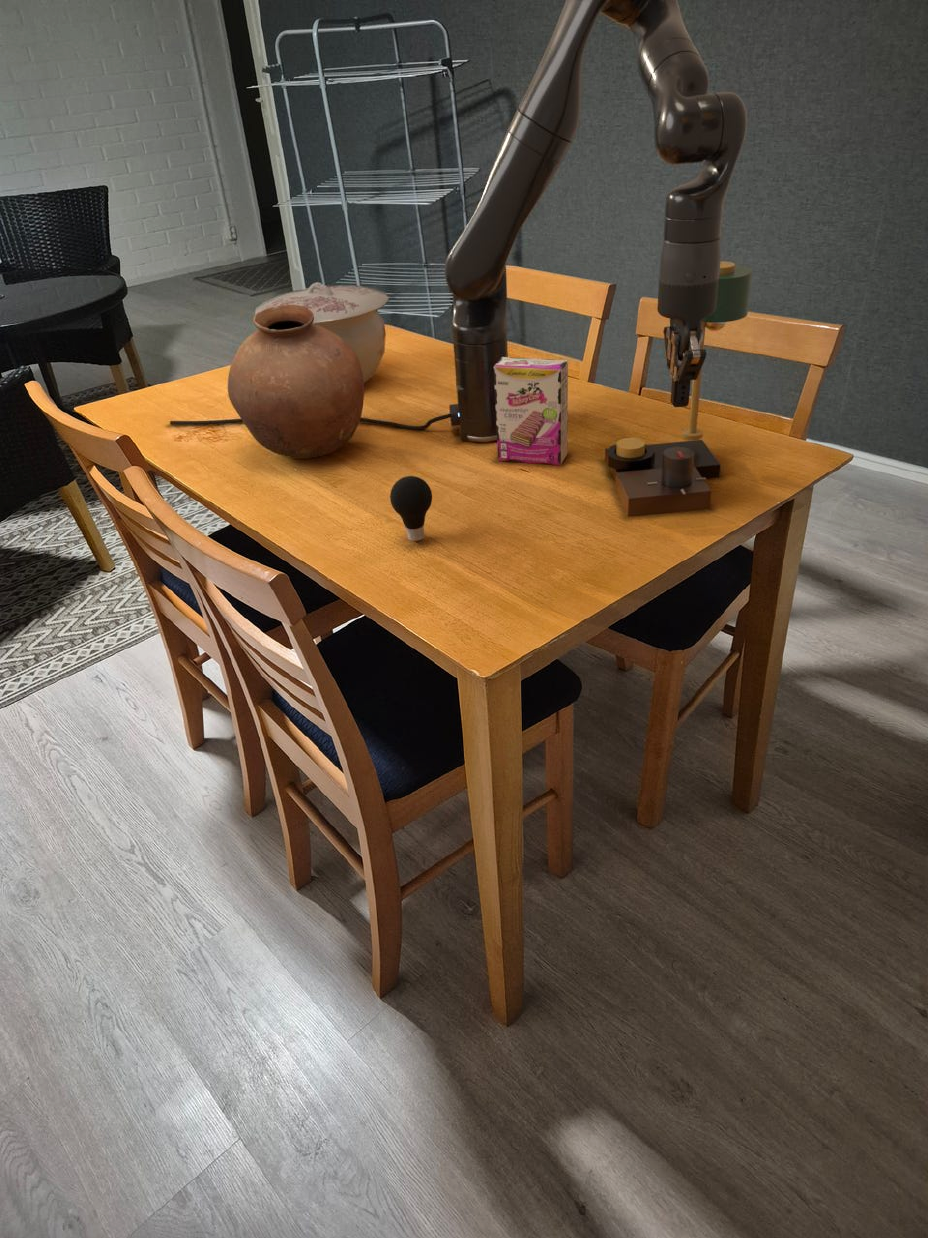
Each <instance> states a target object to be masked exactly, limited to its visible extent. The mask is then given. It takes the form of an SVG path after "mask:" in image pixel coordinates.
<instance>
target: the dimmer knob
mask: <svg viewBox="0 0 928 1238" xmlns="http://www.w3.org/2000/svg"><path fill="white" fill-rule="evenodd" d="M693 465H694V451H693V450H691V449H688V448H684V447H672V448H668V449H666V450H665V451H664V452H663V464H662V479H661V481H662V483H663V484H664V485H666V486H669V487H674V488H681V487H686V486H689V485H690V484H691V483H692V476H693Z"/></svg>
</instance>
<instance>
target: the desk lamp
mask: <svg viewBox="0 0 928 1238" xmlns="http://www.w3.org/2000/svg"><path fill="white" fill-rule="evenodd" d="M752 278H753V269H752V268H751V267H748V266H745V265H741V264H736V263H734V262H731V261H721V262H720V273H719V283H718V294H717V304H716V310H715V312H714V313H713V314H712V315H710V316H708V317H705V318H703V319H702V320H701V322H700V323H701V329H703V341H702V343H701V345H700V349H705V336H706V329H707V330H709V331H713V332H717V331H720V330H722V329H723V328H724V327H725V325H726V324H727V323H729V322H736V321H739V320H742V319H744V318H746V317H747V316H748V313H749V305H750V298H751V297H750V295H751V288H752ZM702 371H703V367H702V368H701V370H700V372H699V375H698V377H697V379H696V380H692V385H691V397H690V409H689V421H688V428H685V429H683V430H682V431H681V438H682V439H684V440H685V441H694V440H702V438H703V435H704V434H703V430H701V429H699V428H698V427H697V426H698V417H699V406H700V394H701V382H702Z"/></svg>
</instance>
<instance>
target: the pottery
mask: <svg viewBox="0 0 928 1238" xmlns="http://www.w3.org/2000/svg"><path fill="white" fill-rule="evenodd" d="M313 321H314V313H313V312H312V311H311V310H310V309H309V308H307V307H304V306H300V305H295V304H291V305H279V306H276V307H269V308H267V309H264V310H262V311H260V312H258V313H257V314H256V315H255V314H254V315H253V318H252V322H253V325H254V326H255V328H257V330H256V331H255V332H252V333H251V334H250V335H249V336H248V337H247V338H246V339H245V340H244V341H243V342H242V344H241V345H240V346H239V347H238V349H237V351H236V352H235V354H234V356H233V358H232V361H231V365H230V367H229V371H228V377H227V395H228V399H229V401H230V404H231V406H232V407H233V409H234V411H235V412H236V413H237V415H238V416H239V419H242V421H243V422H242V423H243V424H244V426H245V427H246V428H247V429H248V431H249V433H250V434H251V436H252V437H253V438H254V439H255V440H256V442H257V443H259V445H260V446H262V447H263V448H265V449H266V450H268V451H270V452H272V453H274V454H277V455H280V456H282V457H287V458H293V459H311V458H318V457H322V456H325V455H328V454H330V453H333V452H334V451H337V450H339V449H340V448H342V447H343V446H345V445H346V444H348V443H349V442H350V441H351V439H353V437H354V435H355V433H356V431H357V429H358V427H359V424H360V419H361V418H362V413H363V408H364V401H365V400H364V399H365V383H364V381H363V373H362V368H361V364H360V361H359V358H358V356H357V355H356V353H355V352H354V350H353V349H352V348H351V347H350V346H349V344H348V343H347V342H345V341H344V340H343V339H342V338H341V337H339V336H338V335H336V334H335V333H333V332H331V331H329V330H327V329H325V328H323V327H321V326H318V325H315V324H312V323H313Z"/></svg>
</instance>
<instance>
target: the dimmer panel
mask: <svg viewBox="0 0 928 1238" xmlns="http://www.w3.org/2000/svg"><path fill="white" fill-rule="evenodd" d="M661 479H662V468H660V469H650V470H639V471H628V472H617V473H616V483H615V492H616V495H617V497H618V499H619V500H620V503H621V505H622V507H623V509H624V511H625V514H626V516H627V518H629V517H641V516H652V515H661V514H662V515H663V514H672V513H673V514H674V513H684V512H695V511H705V510H707V511H708V510H710V509H711V498H712V490H711V489H710V486H709V485H708V484H707V482H706V481H705V480H707V479H706V478H702V477H701V475H700V474H699V472H698V471H697V469H696V468H695V466H694V465H693V476H692V483H691V484H690V485H689V486H686V487H681V488H674V487H669V486H666V485H664V484H663V483H662V481H661Z"/></svg>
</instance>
